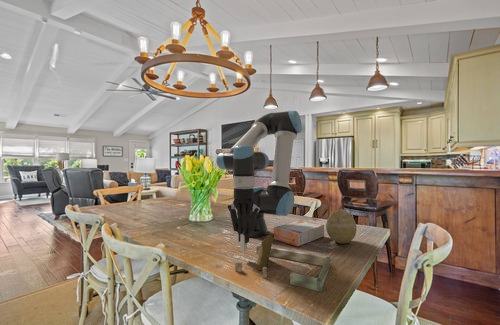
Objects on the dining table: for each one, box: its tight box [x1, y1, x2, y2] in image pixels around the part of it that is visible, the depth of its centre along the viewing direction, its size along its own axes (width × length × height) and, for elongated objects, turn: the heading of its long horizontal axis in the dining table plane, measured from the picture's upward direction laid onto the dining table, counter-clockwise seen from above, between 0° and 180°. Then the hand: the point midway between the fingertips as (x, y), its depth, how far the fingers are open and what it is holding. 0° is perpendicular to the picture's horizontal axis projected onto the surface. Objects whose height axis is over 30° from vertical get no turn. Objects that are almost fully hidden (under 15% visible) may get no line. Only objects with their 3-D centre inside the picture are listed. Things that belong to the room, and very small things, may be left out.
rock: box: [256, 234, 274, 271], centre depth 84 cm, size 11×9×10 cm
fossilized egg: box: [325, 208, 358, 244], centre depth 105 cm, size 13×13×15 cm
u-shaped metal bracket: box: [234, 244, 331, 292], centre depth 81 cm, size 28×18×3 cm, turn 63°
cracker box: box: [273, 219, 325, 247], centre depth 112 cm, size 14×6×21 cm
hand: (244, 250), depth 88 cm, fingers closed
